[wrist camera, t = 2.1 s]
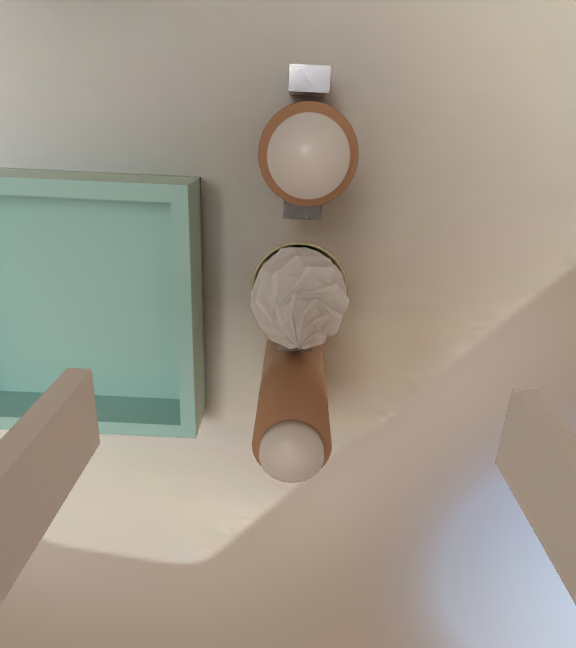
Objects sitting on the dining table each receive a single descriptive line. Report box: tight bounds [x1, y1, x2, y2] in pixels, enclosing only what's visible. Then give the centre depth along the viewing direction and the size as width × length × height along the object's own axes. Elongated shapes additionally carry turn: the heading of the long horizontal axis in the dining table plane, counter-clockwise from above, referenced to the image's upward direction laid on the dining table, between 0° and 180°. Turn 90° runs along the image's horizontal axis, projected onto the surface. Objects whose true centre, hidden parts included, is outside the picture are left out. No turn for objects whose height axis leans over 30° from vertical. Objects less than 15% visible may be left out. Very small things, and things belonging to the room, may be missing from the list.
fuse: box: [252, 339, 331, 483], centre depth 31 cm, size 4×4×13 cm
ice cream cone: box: [250, 242, 350, 349], centre depth 27 cm, size 5×5×15 cm
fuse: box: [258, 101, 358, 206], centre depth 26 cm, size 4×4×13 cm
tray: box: [0, 168, 206, 438], centre depth 34 cm, size 17×17×4 cm
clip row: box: [278, 64, 331, 352], centre depth 31 cm, size 21×2×6 cm, turn 178°
